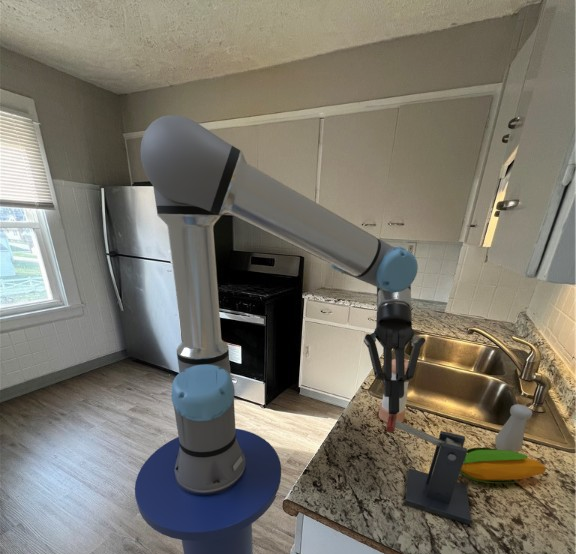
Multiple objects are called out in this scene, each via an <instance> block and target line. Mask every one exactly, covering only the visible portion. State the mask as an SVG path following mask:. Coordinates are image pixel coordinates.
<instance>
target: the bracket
mask: <svg viewBox="0 0 576 554" xmlns="http://www.w3.org/2000/svg"><path fill="white" fill-rule="evenodd" d="M437 438H438V439H440V440H443V441H445V439H446V438H449V439H452V440H454V441H456V442H459V443H461V447H458V446H454V445H450V444H446V443H442V442H441V445H440V447H439V446H437V445H435V448H434V452H433V455H432V459H431V463H430V466H429V469H428V473H427V472H424V471H421V470H418V469H417V470H416V469H413V468H410V467H409V468H407V474H406V486H405V497H404V505H405V506H409V507H412V508H415V509H418V510H421V511H424V512H427V513H431V514H434V515H436V516H440V517H443V518H447V519H449V520H453V521H456V522H459V523H462V524H465V525H468V526H470V525H471V523H472V516H471V509H470V501H469V494H468V487H467V486H468V485H467V483H464V482H460V481H458V480H459V477H460V474H461V473H460V471H461V468H462V465H463V463H464V460H465V457H466V454H468V453H467V450H468V448H466V447H464V444H465V441H466V436H465V435H460V434H456V433H453V432H448V431H443V430H440V432H439V435H438V437H437Z"/></svg>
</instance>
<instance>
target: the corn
mask: <svg viewBox="0 0 576 554" xmlns="http://www.w3.org/2000/svg"><path fill="white" fill-rule="evenodd" d="M546 470H547V466H545V465H544V464H543V463H541V462H540V461H539V460H536V459H532V458H529V457H528V455H527V454H524V453H520V452H513V451H505V450H498V449H497V448H491V447H484V446H483V447H471V448H467V454H466V457H465V460H464V463H463V465H462V468H461V471H460V474H461V475H462V476H464V477H465V478H467V479H470V480H472V481H475V482H478V483H479V482H480V483H487V484H514V483H515V484H516V483H518V484H519V481H515V480H523V479H527V478H531V477H536V476H539V475H543V474H544V473H545V472H546Z"/></svg>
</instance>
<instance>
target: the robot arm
mask: <svg viewBox="0 0 576 554" xmlns="http://www.w3.org/2000/svg"><path fill="white" fill-rule="evenodd" d="M139 152H140V160H141V164H142V169H143V171H144V174H145V176H146V177H147V179H148V181H149V182H150V184H151V185H152V188H153V194H154V200H155V208H156V214H157V217H158V218H159V219H160V220H161V221H162V222H163V223H164V224H165V225H166V226H167V234H168V242H169V250H170V256H171V257H170V258H171V265H172V272H173V281H174V287H175V294H176V295H175V296H176V302H177V310H178V316H179V317H178V319H179V325H180V334H181V342H180V344H179V345H178V346H177V348H176V357H177V365H178V374H177V375H176V376H175V377H174V379H173V381H172V384H171V395H170V397H171V402H172V405H173V409H174V416H175V417H174V418H175V422H176V430H177V435H178V436H177V437H179V443H180V449H179V453H178V455H177V456H176V458H177V460H176V464H175V477H176V482H177V484H178V486H179V487H180V488H181V489H182V490H183V491H185V492H187V493H189V494H192V495H196V496H213V495H217V494H221V493H223V492H226V491H228V490H229V489H231V488H233V487H234V486H235V485H236V484H238V483H239V481H240V480H241V479H242V477H243V476H244V473H245V469H246V463H245V456H244V454H243V452H242V450H241V448H240V446H239V444H238V441H237V439H236V429H237V428H236V412H235V411H236V410H235V385H234V383H233V382H234V381H233V379H232V376H231V365H230V350H229V344H228V343H227V342H226V341H224V340H223V339H222V329H221V316H220V314H221V313H220V302H219V301H220V300H219V289H218V288H219V287H218V286H219V285H218V274H217V273H218V272H217V260H216V246H215V234H214V226H215V224H216V223H217V222H218V221H219V219H220V218H221V217H222V216H224V215H227V214H228V215H231V216H233V217H235V218H237V219H239V220H242V221H243V222H245V223H247V224H250V225H252V226H254V227H256V228H258V229H259V230H262V231H264V232H265V233H267V234H270V235H271V236H273V237H275V238H277V239H279V240H282V241H284V242H286V243H288V244H290V245H292V246H294V247H296V248H299V249H300V250H302V251H304V252H306V253H308V254H310V255H312V256H314V257H315V258H318V259H320V260H322V261H325V262H326V263H328V264H330V266H331V267H332V269H333V270H335V271H337V272H340V273H341V274H345V275H347V276H350V277H352V278H355V279H357V280H359V281H362V282H364V283H366V284H369V285H371V286H373V287H375V288H376V317H375V318H376V320H375V321H376V324H375V325H376V327H375V328H374V330H373V332H372V333H367V334H365V336H364V338H363V343H364V344H365V346H366V347H367V349H368V354H369V357H370V362H371V366H372V371H373V375H374V378H375V379H376V380H380V381H381V382H382V383H383V394H384V396H385V397H389V414H397V413H398V412H399V398H402V397H403V396H404V382H410V381H411V380H412V379H413V378H415V377H414V376H415V372H416V369H417V364H418V360H419V355H420V352H421V348H422V347H423V345H424V344H425V342H426V339H425V337H419V336H417V335H415V331H414V330H413V315H412V314H413V313H412V284H413V282H414V281H415V279H416V277H417V274H418V269H419V265H418V260H417V258H416V256H415V255H414V254H413V253H412V252H411V251H409V250H407V249H406V247H405V248H404V247H402V246H395V245H390V244H389V243H387V242H385V241H384V240H382V239H380V238H378V237H376V236H375V235H373V234H371V232H370V233H369V232H368V231H366V230H364V229H363V228H361V227H359V226H357V225H356V224H354V223H352V222H350V221H349V220H347V219H345V218H344V217H342V216H340V215H338V214H337V213H335V212H333V211H331V210H329V209H328V208H326V207H324V206H322V205H321V204H319V203H317V202H316V201H314V200H312V199H311V198H309V197H307V196H305V195H303V194H302V193H300V192H298V191H297V190H295V189H293V188H292V187H290V186H288V185H287V184H284V183H283V182H281V181H279V180H277V179H276V178H274V177H272V176H271V175H269V174H267V173H265V172H264V171H262V170H260V169H258V168H257V167H255V166H253V165H251V164H250V163H248V162H247V160H246V158H245V155H244V152H243V151H242V150H241V149H239V148H237V147H235V146H234V145H232V144H230V143H229V142H227V141H225V140H224V139H223V138H221V137H220V136H218V135H216V134H215V133H214V132H213V131H210V130H209V129H208V128H206V127H204V126H203V125H202V124H200V123H198V122H197V121H195V120H193V119H190V118H189V117H187V116H183V115H176V114H169V115H168V114H167V115H164V116H160V117H158V118H157V119H155V120H153V121H152V122H151V123H150V124H149V125H148V127H147V128H146V129H145V132H144V133H143V135H142V138H141V142H140V150H139ZM376 342H378V343H379V344H380V346H381V347H382V348H383V349H382V353H383V368H382V363H381V359H380V356H379V350H378V347H377V343H376ZM410 342H411V347H412V350H411V351H410V355H409V358H408V361H409V363H408V367H407V370H406V374H405V364H404V358H405V349H406V347H407V345H408V344H409V343H410ZM393 350H394V354H395V359H396V380H391V378H392V360H393ZM235 428H236V429H235Z"/></svg>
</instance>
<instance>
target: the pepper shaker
mask: <svg viewBox="0 0 576 554" xmlns="http://www.w3.org/2000/svg"><path fill="white" fill-rule="evenodd" d="M408 363H409V359H406V358H405V357H404V364H405V374H406V370H407V367H408ZM391 380H396V358H392V378H391ZM409 382H410V381H409ZM409 382H404V396H403V397H402V398H399V412H398V413H397V418H396V420H397V421H400V422H402V423H404V421H405V415H406V412H407V411H406V410H407V409H406V405H407V402H408V389H409V388H408V387H409V384H410V383H409ZM378 417H379V419H380V420H381V421H383V422H385V423H387V422H388V418H389V397H385V396H384V393H383V395H382V401H381V402H380V405H379V409H378Z"/></svg>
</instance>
